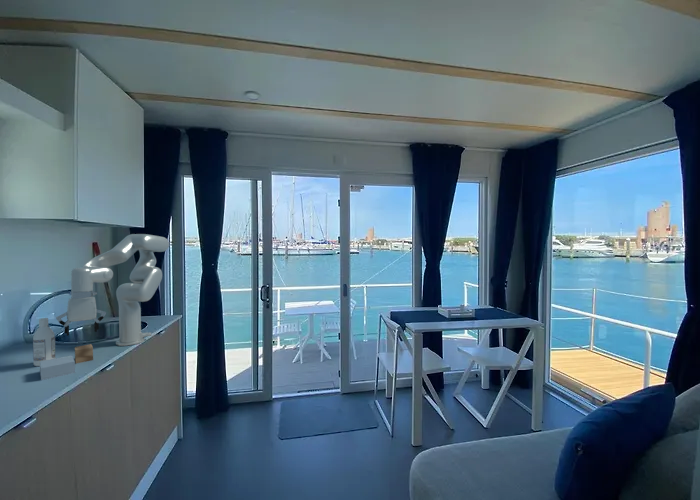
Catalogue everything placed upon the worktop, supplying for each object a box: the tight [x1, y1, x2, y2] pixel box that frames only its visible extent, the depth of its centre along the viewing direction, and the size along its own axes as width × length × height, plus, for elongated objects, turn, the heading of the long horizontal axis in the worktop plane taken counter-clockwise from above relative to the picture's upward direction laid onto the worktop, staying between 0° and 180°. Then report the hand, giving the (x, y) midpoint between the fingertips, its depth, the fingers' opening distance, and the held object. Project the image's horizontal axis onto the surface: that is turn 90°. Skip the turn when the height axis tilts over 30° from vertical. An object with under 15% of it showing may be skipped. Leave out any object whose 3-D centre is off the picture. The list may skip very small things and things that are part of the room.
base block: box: [39, 355, 76, 381], centre depth 131 cm, size 10×10×5 cm
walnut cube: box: [74, 343, 94, 364], centre depth 145 cm, size 6×6×6 cm
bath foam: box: [32, 317, 56, 367], centre depth 141 cm, size 7×7×20 cm
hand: (81, 333), depth 144 cm, fingers open, 9 cm apart
